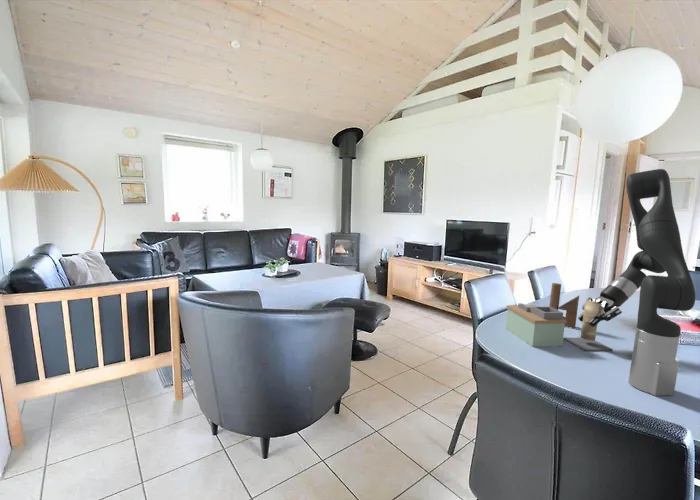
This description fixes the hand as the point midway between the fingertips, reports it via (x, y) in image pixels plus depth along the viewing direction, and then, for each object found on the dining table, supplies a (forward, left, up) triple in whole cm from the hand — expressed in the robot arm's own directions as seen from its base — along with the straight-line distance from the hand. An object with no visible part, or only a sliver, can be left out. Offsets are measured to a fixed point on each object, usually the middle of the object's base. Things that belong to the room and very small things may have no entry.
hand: (585, 322), depth 129 cm
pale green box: (+8, +15, -9) cm, 19 cm away
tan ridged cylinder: (0, -2, -6) cm, 7 cm away
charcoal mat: (0, -2, -9) cm, 9 cm away
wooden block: (+22, -8, -9) cm, 25 cm away
